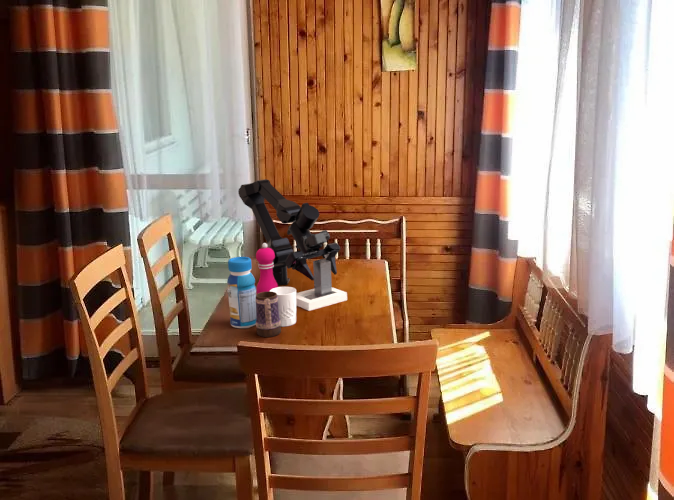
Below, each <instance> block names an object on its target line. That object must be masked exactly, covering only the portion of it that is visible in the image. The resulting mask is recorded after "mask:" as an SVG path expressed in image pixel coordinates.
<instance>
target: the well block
mask: <svg viewBox="0 0 674 500" xmlns="http://www.w3.org/2000/svg"><path fill="white" fill-rule="evenodd" d="M312 294H315V293H314V288H312V289H308V290H304V291H300V292H296V307H298V308H302V309H304V310H306V311H309V312H310V311H314V310H317V309H321V308H324V307H328V306H331V305H335V304H338V303H341V302H346V301H348V292H347V291H344V290H341V289H338V288H335V287H332V294H330V295H326V296H323V297H319V298H315V299H312V300H309V299H307V298H304V297H305V296H308V295H312Z"/></svg>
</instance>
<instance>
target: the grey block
mask: <svg viewBox="0 0 674 500" xmlns="http://www.w3.org/2000/svg"><path fill="white" fill-rule="evenodd" d="M312 263H313V264H312V267H313V277H314V280H313V282H314V283H313V284H314V285H313V286H314V287H313V289H314V293H315V294H312V295H308V296H305V297H304V298H307V299H309V300H312V299H315V298H319V297H323V296H326V295H330V294H332V271H331V261H328V260H326V259H324V258H321V259H316V260H313V261H312Z"/></svg>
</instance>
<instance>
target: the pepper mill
mask: <svg viewBox="0 0 674 500" xmlns="http://www.w3.org/2000/svg"><path fill="white" fill-rule="evenodd" d="M274 258H275V253H274V251H273V250H272V249H271V248H267V242H263V243H262V244H261V248H259V249H257V251H256V253H255V259H256V261H257V262H258V263H257V265H258V266H257V267H258V269H259V274H260V275H259V279H258V282H257V285H256V294H258V293H260V292H267V291H270V290H271V289H274V288H277V287H279V285H278V284H277V282H276V280H275V278H274V276H273V267H274V262H273V260H274Z"/></svg>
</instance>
